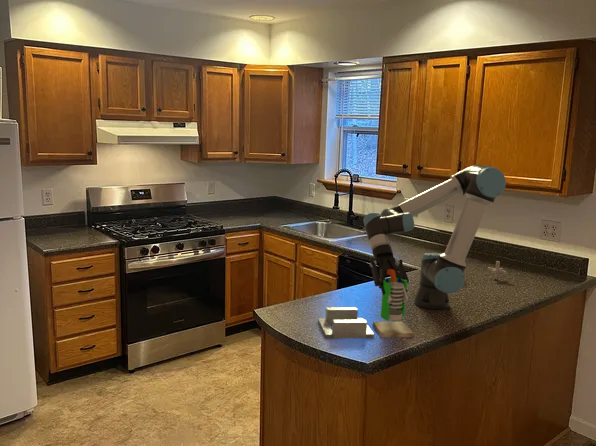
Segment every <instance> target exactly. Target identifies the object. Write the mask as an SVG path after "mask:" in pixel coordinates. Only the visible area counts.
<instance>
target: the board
mask: <svg viewBox="0 0 596 446" xmlns="http://www.w3.org/2000/svg"><path fill="white" fill-rule="evenodd" d="M372 326H373V328H374V329H375V330H376V332H377V333H378V334H379V337H380V338H414V332H413V331H412V330H411V329H410V328H409V327H408V326H407V325H406V324H405V323H404V321H401V320H400V321H372Z"/></svg>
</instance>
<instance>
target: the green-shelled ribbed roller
mask: <svg viewBox="0 0 596 446" xmlns="http://www.w3.org/2000/svg"><path fill="white" fill-rule="evenodd" d="M386 275H389V276H390V277H385V280H383V284H384V285H383V287H384V290H385V294H384V295H383V294H382V293H381V306H380V307H381V310H380V318H382V319H383V320H386V321H401V320H402V319H403V317H405V314H406V313H405V312H406V302H405V303H404V302H403V291H404V289H403V287H405V290H407V291H408V283H407V281H406V280H404V279H399V278H396V274H395V271H394V270H393V269H388V270H386ZM401 280H402V282H404V283H402V282H401ZM390 295H391V299H392V301H391V302H390V303H388V296H390Z"/></svg>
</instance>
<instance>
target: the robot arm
mask: <svg viewBox="0 0 596 446" xmlns="http://www.w3.org/2000/svg"><path fill="white" fill-rule="evenodd" d="M449 177H450V178H449V179H448V180H445V181H444V182H442V183H440V184H438V185H435V186H433V187H431V188H429V189H427V190H425V191H423V192H421V193H419V194H417V195H415V196H413V197H411V198H409V199H407V200H405V201H403V202H401V203H398V204H397V205H395V206H393V207H386V208H384V209H383V210H381V211H380V213H379V212H374V211H373V212H369V213H367V214H366V215H365V216H364V217H363V225H364V230H365V232H366V237H367V239H368V243H369V247H370V249H371V252H372V255H373V256H372V257H373V259H374V260H371V261H370V262H369V264H368V266H369V268H370V270H371V273H372V278H373V283H374V286H375V287H378V288H379V289H380V290H381V295H382V294H383V295H384V294H385V290H384V287H383V285H384V284H383V280H385V278H386V271H387V270H388V269H393V270H394V271H395V274H396V278H399V279H404V280H406V281H407V284H408V283H409V282H410V279H409V277H408V275H407V272H406V269H405V267H404V264H403V260H402V259H399V260H398V259H396V258H395V257H394V253H393V249H392V246H391V243H390V240H389V237H388V236H389V235H394V234H400V233H406V232H410V231H412V230H414V228H415V221H414V217H416V216H418V215H420V214H422V213H424V212H426V211H428V210H430V209H433V208H434V207H436V206H438V205H440V204H442V203H444V202H446V201H449V200H450V199H453V198H455V197H456V196H459V197H461V196H464V195H465V197H466V200H465V202H464V205H463V206H462V207H463V208H462V209H461V212H460V214H459V216H458V219H457V222H456V224H455V226H454V228H453V231H452V234H451V236H450V238H449V241H448V243H447V245H446V248H445V250H444V252H442V254H441V252H440V253H439V252H438V253H437V252H425V253H423V254H422V256H421V260H420V262H421V264H420V265H421V266H420V276H419V285H418V287H417V290H416V293H415V296H414V299H413V300H414V301H413V302H414V304H415V305H416V306H419V307H421V308H425V309H429V310H445V309H447V308H449V307H450V299H449V298H450V297H449V294H454V293H456V292H459V291H460V290H461V289H462V288H463V287H464V285H465V281H466V277H465V273H464V272H465V270H466V268H467V263H466V259H467V255H468V254H469V251H470V248H471V247H472V244H473V241H474V240H475V237H476V234H477V232H478V230H479V227H480V226H481V222H482V220H483V218H484V215H485V212H486V210H487V209H488V208H489V207H490V206H491V205H492V204H494V202H495V200H496V197H498V196H500V195H501V194H502V193H503V192H504V191H505V189H506V186H507V185H506V184H507V180H506V175H505V174H504V172H502V171H501V170H500V169H499V168H496V167H495V166H491V165H483V164H474V165H471V166H468V167H466V168H464V169H462V170H460V171H458V172H456V173H455V174H452V175H450V176H449ZM488 206H489V207H488ZM378 267H379V272H378ZM401 282H402V280H401ZM402 283H404V282H402ZM403 289H404V291H403V302H404V303H405V304H406V303H407V302H408V300H409V297H408V294H407V293H408V289H407V290H405V287H403ZM391 301H392V299H391V295H390V296H388V303H390V302H391Z"/></svg>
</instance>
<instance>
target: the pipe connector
mask: <svg viewBox="0 0 596 446" xmlns="http://www.w3.org/2000/svg"><path fill="white" fill-rule="evenodd" d="M500 263H501V262H500V261H499V260H496V261H495V268H494V267H491V266H488V267H487V271H490V274H492V275H493V274H494V278H498V279H499V274H501V275H507V273H508V271H506V270H504V268H503V267H500V265H501V264H500ZM494 278H493V279H494Z"/></svg>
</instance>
